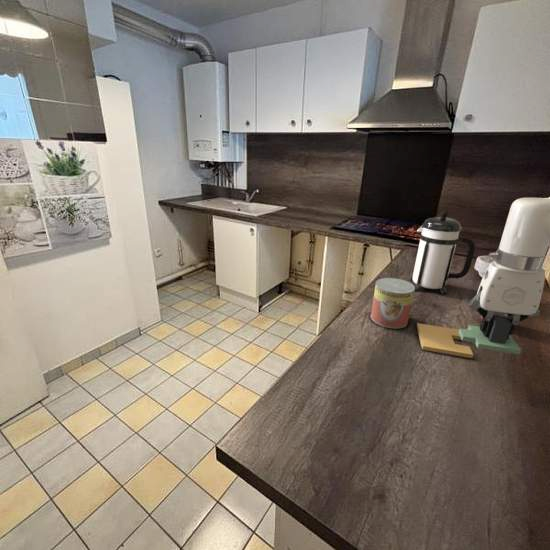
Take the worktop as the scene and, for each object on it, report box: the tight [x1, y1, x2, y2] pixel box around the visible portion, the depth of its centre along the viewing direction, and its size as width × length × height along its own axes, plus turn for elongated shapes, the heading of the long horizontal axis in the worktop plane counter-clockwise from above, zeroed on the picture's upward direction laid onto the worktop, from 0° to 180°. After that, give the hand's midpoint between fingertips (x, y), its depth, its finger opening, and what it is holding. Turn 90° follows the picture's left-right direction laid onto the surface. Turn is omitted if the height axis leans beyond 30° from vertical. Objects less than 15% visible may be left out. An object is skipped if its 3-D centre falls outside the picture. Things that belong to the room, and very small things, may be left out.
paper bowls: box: [473, 255, 495, 278], centre depth 123 cm, size 15×15×8 cm
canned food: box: [370, 277, 416, 330], centre depth 91 cm, size 11×11×12 cm
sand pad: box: [416, 322, 474, 359], centre depth 82 cm, size 12×12×1 cm
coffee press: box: [410, 210, 476, 295], centre depth 110 cm, size 17×16×30 cm
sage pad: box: [458, 312, 522, 356], centre depth 67 cm, size 10×8×6 cm
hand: (494, 334), depth 67 cm, fingers closed on sage pad, 3 cm apart
